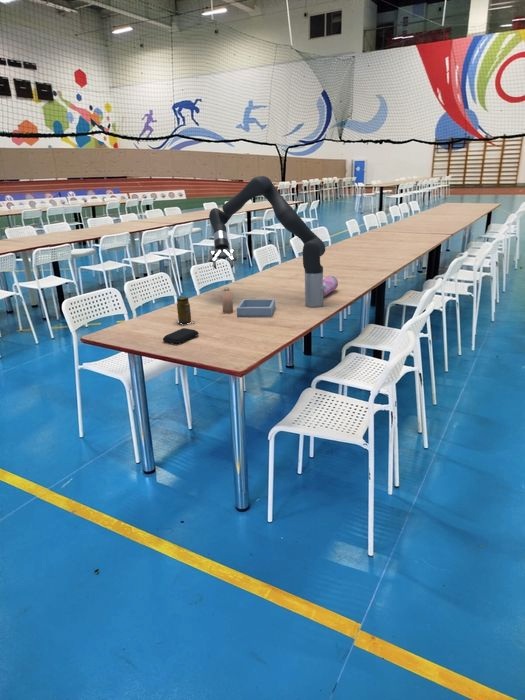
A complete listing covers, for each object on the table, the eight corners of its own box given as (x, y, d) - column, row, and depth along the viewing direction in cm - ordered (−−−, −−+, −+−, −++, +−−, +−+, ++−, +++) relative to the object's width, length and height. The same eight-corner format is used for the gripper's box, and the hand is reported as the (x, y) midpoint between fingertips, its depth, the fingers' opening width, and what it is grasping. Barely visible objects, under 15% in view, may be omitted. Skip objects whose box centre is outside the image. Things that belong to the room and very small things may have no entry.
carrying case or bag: (179, 347, 199) (202, 336, 210) (179, 340, 198) (201, 329, 209) (161, 343, 205) (184, 332, 216) (160, 336, 204) (183, 326, 215)
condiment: (189, 319, 234) (186, 295, 230) (195, 323, 227) (193, 298, 223) (175, 321, 231) (172, 297, 227) (181, 326, 224) (178, 301, 220)
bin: (275, 307, 246) (275, 299, 244) (271, 317, 231) (271, 308, 230) (243, 307, 249) (242, 299, 247) (237, 316, 234) (236, 308, 232)
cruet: (234, 310, 245) (232, 286, 241) (232, 313, 240) (230, 288, 236) (224, 310, 246) (222, 286, 241) (221, 313, 241) (220, 288, 237)
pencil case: (323, 300, 256) (323, 283, 252) (308, 298, 260) (307, 282, 257) (339, 291, 272) (339, 275, 269) (324, 289, 277) (324, 274, 274)
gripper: (207, 238, 249) (209, 264, 242) (234, 236, 250) (237, 262, 244) (208, 246, 256) (210, 272, 249) (234, 245, 257) (237, 270, 251)
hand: (223, 267), depth 247 cm, fingers open, 8 cm apart
